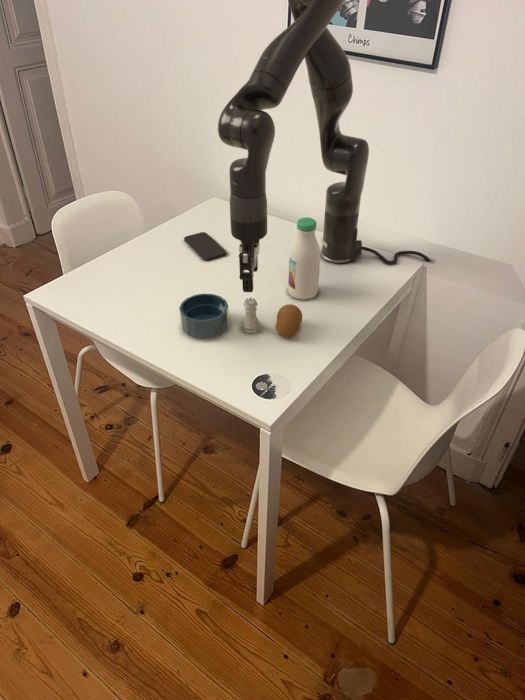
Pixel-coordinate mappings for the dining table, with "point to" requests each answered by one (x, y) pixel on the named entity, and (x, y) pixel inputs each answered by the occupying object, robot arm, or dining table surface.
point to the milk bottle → (304, 261)
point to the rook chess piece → (250, 317)
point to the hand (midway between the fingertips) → (250, 280)
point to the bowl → (204, 315)
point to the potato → (288, 320)
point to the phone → (204, 246)
